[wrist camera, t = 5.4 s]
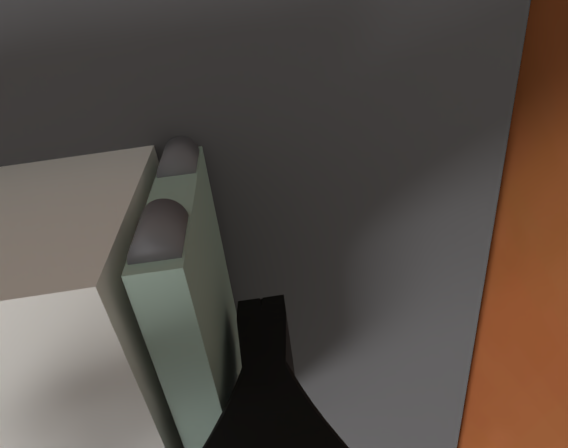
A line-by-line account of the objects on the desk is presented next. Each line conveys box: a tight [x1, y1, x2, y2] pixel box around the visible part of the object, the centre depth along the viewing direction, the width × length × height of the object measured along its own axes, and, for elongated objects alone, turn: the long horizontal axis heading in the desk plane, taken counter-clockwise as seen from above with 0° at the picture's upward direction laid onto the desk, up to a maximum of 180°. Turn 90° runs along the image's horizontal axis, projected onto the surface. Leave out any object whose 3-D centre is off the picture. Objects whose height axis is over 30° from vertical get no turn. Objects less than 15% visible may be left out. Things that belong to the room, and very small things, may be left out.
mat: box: [0, 0, 531, 448], centre depth 15 cm, size 26×20×1 cm
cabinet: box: [0, 145, 184, 448], centre depth 12 cm, size 12×8×6 cm, turn 6°
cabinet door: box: [121, 136, 242, 448], centre depth 12 cm, size 12×2×5 cm, turn 6°
